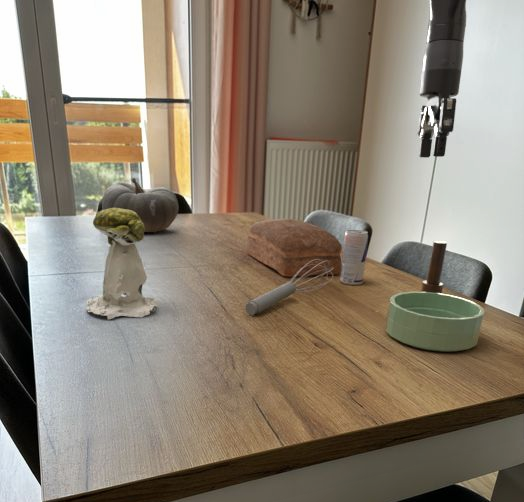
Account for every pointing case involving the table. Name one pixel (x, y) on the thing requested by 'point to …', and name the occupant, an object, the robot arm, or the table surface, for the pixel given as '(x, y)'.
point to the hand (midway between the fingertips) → (431, 157)
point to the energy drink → (354, 257)
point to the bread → (294, 247)
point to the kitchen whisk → (279, 293)
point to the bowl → (434, 321)
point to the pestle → (435, 268)
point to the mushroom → (121, 266)
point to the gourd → (143, 204)
